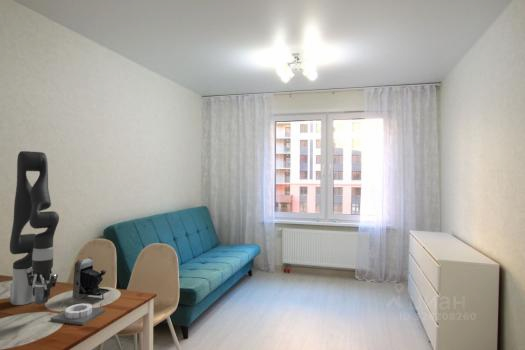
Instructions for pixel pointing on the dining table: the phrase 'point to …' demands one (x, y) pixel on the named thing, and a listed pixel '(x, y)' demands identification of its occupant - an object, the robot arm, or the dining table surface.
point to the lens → (40, 293)
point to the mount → (78, 314)
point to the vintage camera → (87, 280)
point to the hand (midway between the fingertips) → (41, 296)
